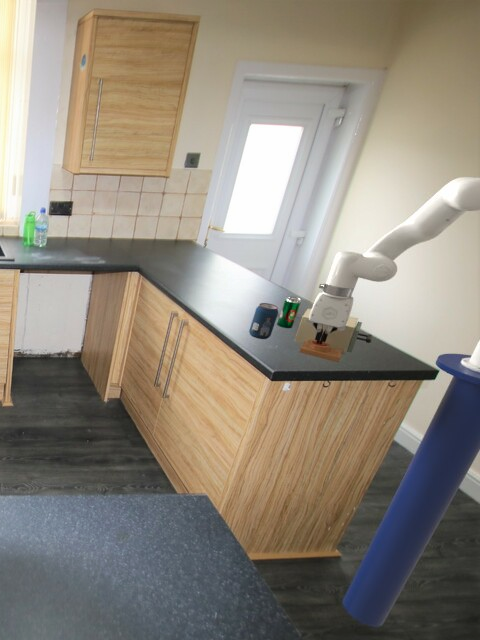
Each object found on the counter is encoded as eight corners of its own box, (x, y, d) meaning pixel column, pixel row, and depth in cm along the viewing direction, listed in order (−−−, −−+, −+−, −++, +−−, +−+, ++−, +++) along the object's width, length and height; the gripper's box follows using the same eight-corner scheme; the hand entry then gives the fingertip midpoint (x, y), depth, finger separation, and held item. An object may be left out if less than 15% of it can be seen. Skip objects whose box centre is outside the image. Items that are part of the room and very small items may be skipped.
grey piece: (367, 346, 165) (376, 325, 162) (365, 356, 157) (374, 334, 153) (308, 332, 175) (315, 312, 172) (303, 341, 167) (310, 320, 164)
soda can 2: (278, 323, 185) (288, 295, 180) (293, 327, 182) (303, 298, 177) (274, 327, 182) (284, 298, 177) (289, 331, 179) (299, 301, 173)
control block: (340, 355, 159) (344, 345, 158) (338, 362, 154) (342, 352, 152) (302, 345, 166) (305, 336, 164) (298, 352, 160) (302, 342, 159)
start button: (325, 347, 160) (327, 343, 159) (323, 350, 157) (325, 346, 156) (312, 344, 162) (314, 340, 161) (311, 347, 159) (312, 342, 159)
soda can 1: (257, 331, 176) (267, 301, 171) (274, 339, 171) (284, 308, 165) (243, 333, 174) (253, 303, 169) (259, 341, 168) (270, 310, 163)
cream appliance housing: (348, 343, 169) (358, 318, 165) (344, 354, 160) (354, 327, 156) (299, 332, 177) (308, 308, 174) (294, 342, 169) (302, 316, 165)
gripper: (308, 288, 153) (291, 339, 161) (366, 298, 145) (345, 352, 152) (312, 283, 159) (295, 333, 166) (367, 293, 150) (347, 346, 157)
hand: (319, 342), depth 159 cm, fingers closed
